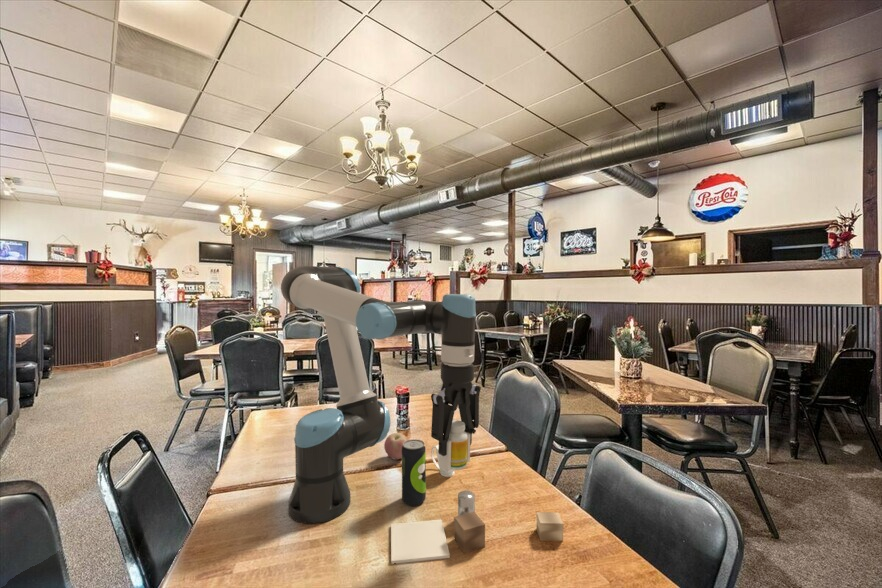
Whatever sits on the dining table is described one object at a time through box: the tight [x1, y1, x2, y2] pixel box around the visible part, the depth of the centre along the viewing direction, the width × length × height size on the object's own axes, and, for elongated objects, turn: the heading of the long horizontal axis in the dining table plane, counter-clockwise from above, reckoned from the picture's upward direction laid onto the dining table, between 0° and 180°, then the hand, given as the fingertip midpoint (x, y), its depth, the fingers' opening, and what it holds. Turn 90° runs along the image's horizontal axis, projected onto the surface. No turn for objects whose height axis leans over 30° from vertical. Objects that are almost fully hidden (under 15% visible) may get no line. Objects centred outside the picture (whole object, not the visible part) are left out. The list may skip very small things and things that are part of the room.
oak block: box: [536, 511, 564, 542], centre depth 84 cm, size 5×4×4 cm
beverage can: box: [401, 438, 427, 507], centre depth 98 cm, size 6×6×15 cm
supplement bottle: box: [448, 419, 468, 471], centre depth 85 cm, size 5×5×10 cm
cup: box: [430, 443, 456, 478], centre depth 113 cm, size 7×10×8 cm
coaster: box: [390, 519, 451, 565], centre depth 82 cm, size 12×12×1 cm
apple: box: [383, 432, 409, 460], centre depth 122 cm, size 8×8×8 cm
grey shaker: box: [457, 490, 476, 516], centre depth 90 cm, size 4×4×6 cm
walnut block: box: [453, 511, 486, 554], centre depth 82 cm, size 5×5×5 cm
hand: (455, 463), depth 85 cm, fingers closed on supplement bottle, 5 cm apart
